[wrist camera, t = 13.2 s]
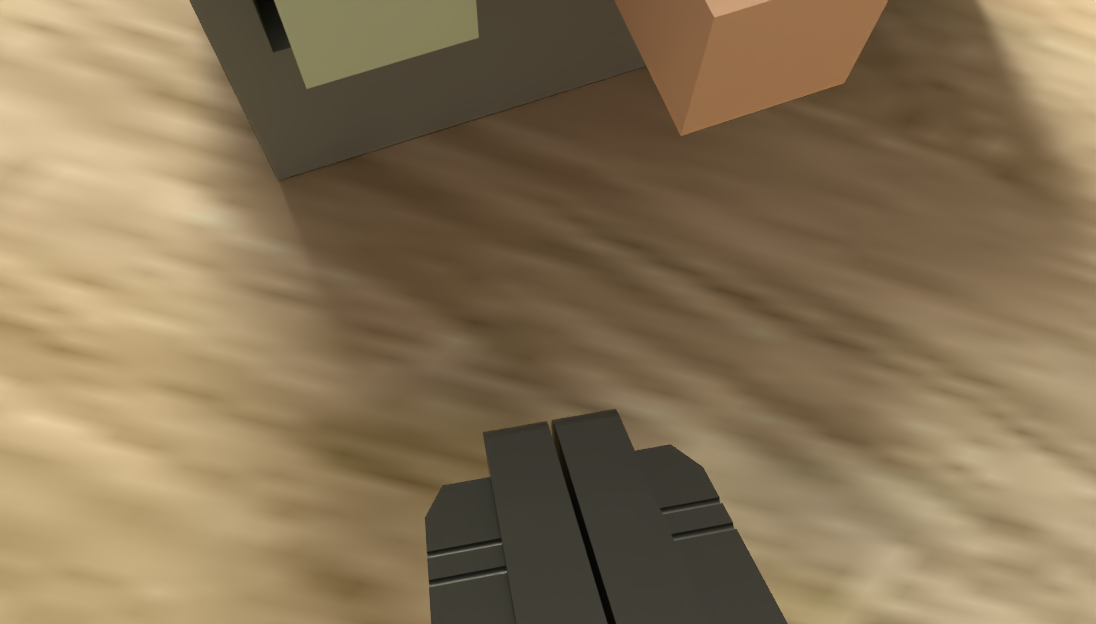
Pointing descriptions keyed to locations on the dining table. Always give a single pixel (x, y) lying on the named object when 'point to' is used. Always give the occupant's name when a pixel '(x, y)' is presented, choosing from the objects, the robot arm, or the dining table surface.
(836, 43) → the terracotta key
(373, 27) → the sage key
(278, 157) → the keypad console
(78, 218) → the dining table surface
